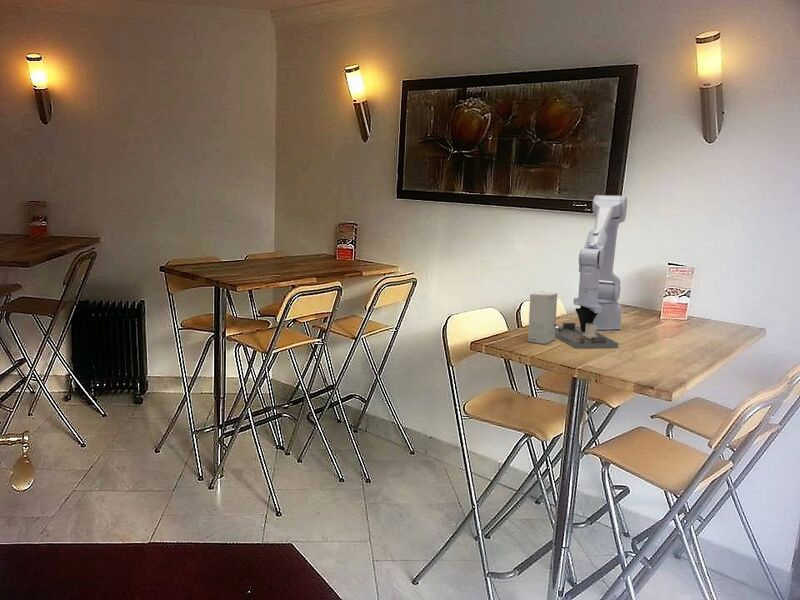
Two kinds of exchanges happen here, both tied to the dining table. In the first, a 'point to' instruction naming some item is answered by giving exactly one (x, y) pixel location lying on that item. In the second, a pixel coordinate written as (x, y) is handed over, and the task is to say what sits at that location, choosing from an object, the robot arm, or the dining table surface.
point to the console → (582, 337)
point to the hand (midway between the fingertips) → (585, 331)
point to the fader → (590, 331)
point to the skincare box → (542, 317)
